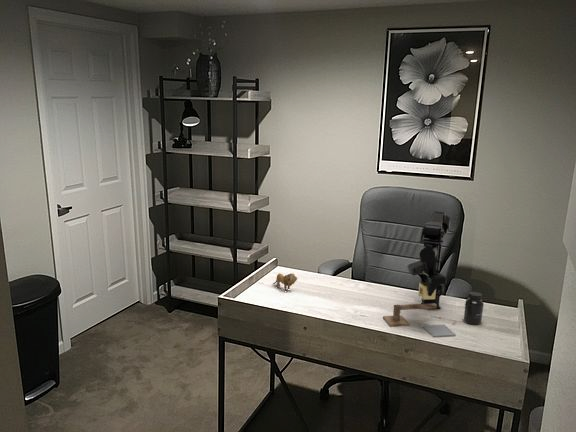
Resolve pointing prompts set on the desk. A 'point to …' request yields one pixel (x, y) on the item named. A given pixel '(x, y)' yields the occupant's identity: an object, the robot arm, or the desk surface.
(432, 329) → the slate mat
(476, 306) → the supplement bottle
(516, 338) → the desk surface
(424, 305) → the walnut stand
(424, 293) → the slotted brass block
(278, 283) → the lion figurine
